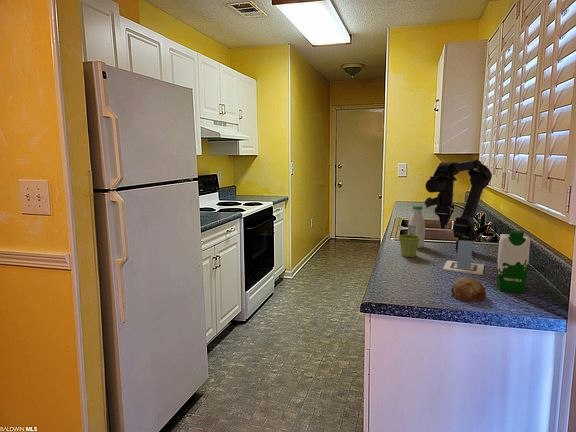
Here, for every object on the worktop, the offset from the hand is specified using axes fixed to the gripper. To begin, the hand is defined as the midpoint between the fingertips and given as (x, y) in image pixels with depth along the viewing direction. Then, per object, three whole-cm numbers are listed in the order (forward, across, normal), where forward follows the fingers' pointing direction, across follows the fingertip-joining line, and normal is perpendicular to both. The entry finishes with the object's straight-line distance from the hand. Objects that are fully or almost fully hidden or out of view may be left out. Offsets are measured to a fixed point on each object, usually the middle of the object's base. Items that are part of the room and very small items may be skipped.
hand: (443, 227), depth 180 cm
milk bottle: (+13, -14, -14) cm, 24 cm away
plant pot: (+13, +6, -13) cm, 20 cm away
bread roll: (+13, +50, +14) cm, 54 cm away
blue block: (+12, +16, +10) cm, 23 cm away
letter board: (+13, +16, +10) cm, 23 cm away
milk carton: (+13, +36, +26) cm, 46 cm away
